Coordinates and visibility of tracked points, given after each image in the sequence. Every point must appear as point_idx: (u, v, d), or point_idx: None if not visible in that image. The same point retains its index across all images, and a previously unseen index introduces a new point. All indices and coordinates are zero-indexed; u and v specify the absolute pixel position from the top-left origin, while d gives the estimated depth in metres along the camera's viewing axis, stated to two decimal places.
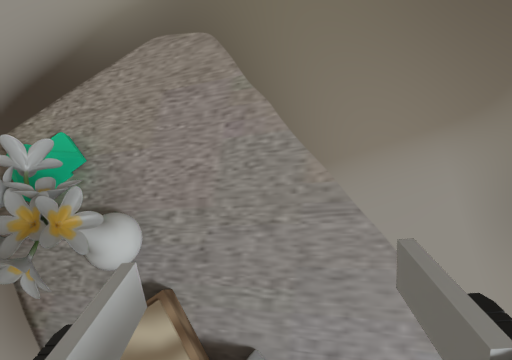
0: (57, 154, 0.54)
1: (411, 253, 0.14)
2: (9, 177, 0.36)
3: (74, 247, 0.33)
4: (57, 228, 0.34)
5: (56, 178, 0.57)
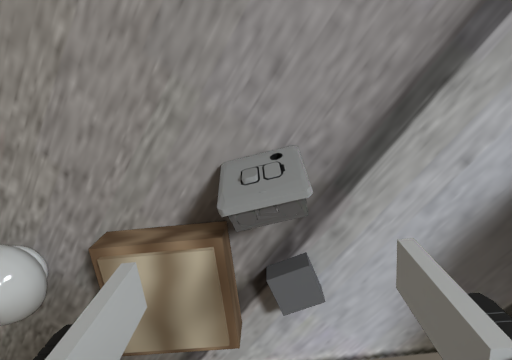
0: None
1: (411, 253, 0.14)
2: None
3: None
4: None
5: None
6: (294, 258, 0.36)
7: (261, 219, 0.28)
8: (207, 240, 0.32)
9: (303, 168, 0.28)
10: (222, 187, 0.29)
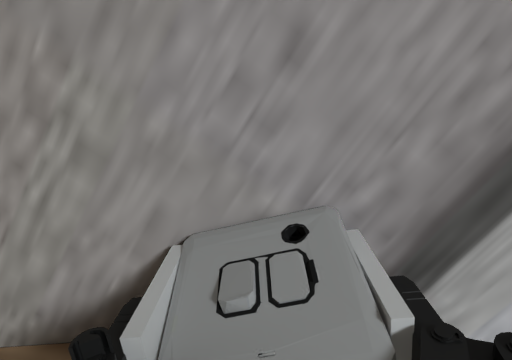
0: None
1: (352, 242, 0.15)
2: None
3: None
4: None
5: None
6: None
7: None
8: None
9: (362, 280, 0.12)
10: (175, 314, 0.13)
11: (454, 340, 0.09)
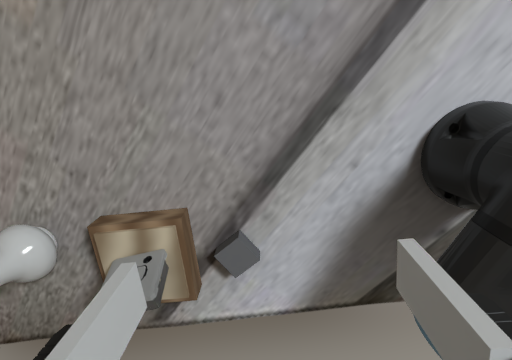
0: None
1: (411, 253, 0.14)
2: None
3: None
4: None
5: None
6: (232, 235, 0.50)
7: None
8: (171, 220, 0.46)
9: (157, 275, 0.42)
10: (103, 285, 0.42)
11: None
